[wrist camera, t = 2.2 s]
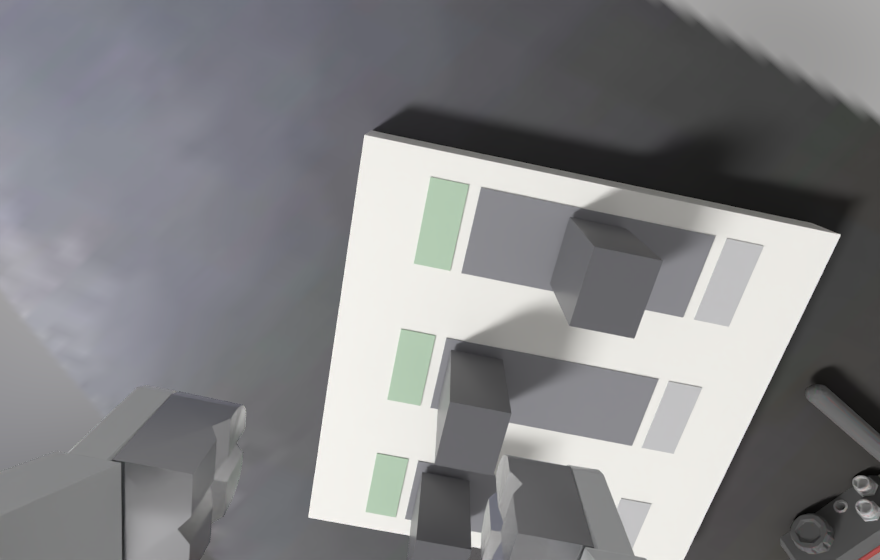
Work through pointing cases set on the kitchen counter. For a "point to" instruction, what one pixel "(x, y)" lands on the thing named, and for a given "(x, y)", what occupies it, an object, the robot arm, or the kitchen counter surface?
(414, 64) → the kitchen counter surface
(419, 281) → the breaker panel
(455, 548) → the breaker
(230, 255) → the kitchen counter surface
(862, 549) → the walkie-talkie
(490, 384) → the block
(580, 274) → the block
